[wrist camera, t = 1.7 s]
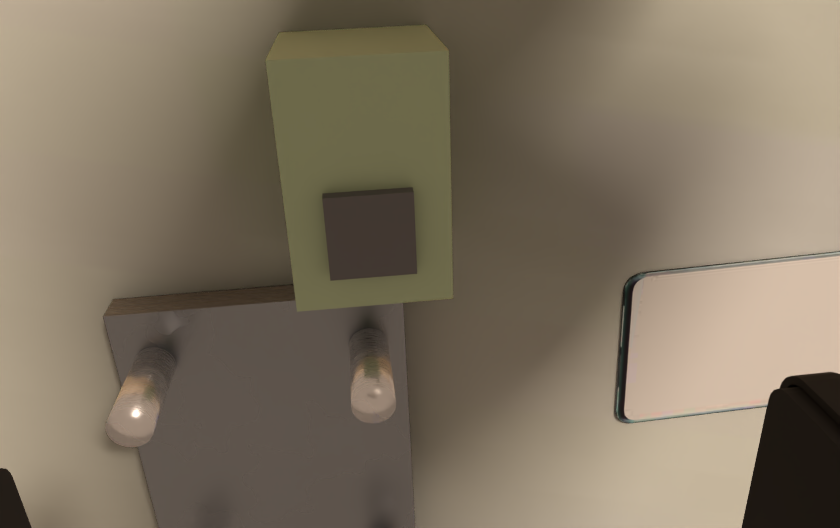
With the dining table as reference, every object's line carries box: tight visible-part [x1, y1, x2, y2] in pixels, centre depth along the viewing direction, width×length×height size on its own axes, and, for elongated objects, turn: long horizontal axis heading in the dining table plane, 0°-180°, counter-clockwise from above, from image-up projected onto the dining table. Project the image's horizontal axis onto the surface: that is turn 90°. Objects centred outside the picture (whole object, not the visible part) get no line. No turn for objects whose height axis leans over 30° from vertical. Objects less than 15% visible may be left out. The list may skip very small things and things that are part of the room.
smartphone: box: [615, 251, 840, 423], centre depth 29 cm, size 7×1×15 cm
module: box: [265, 25, 453, 312], centre depth 21 cm, size 7×4×5 cm, turn 2°
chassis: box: [103, 285, 415, 528], centre depth 26 cm, size 14×10×5 cm
